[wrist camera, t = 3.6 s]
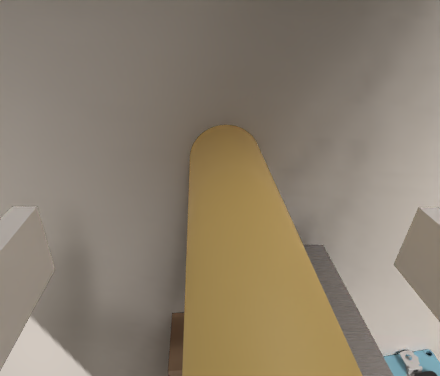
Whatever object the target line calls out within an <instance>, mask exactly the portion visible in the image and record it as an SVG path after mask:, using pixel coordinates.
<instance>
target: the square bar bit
mask: <svg viewBox="0 0 440 376" xmlns="http://www.w3.org/2000/svg"><path fill="white" fill-rule="evenodd" d="M303 246H304V248H305V250H306V252H307V255H308V257H309V259H310V261H311V263H312V266H313V268H314V270H315V272H316V274H317V277H318V279H319V281H320V283H321V285H322V288H323V290H324V292H325V294H326V296H327V299H328V301H329V303H330V305H331V307H332V310H333V312H334V314H335V316H336V318H337V321H338V323H339V325H340V327H341V329H342V332H343V334H344V336H345V338H346V340H347V343H348V345H349V347H350V349H351V351H352V354H353V356H354V358H355V360H356V362H357V364H358V367H359V369H360V371H361V373H362V375H363V376H393V374H392V372H391V370H390V368H389V366H388V364H387V363H386V361H385V359H384V357H383V355H382V353H381V352H380V350H379V348H378V346H377V344H376V342H375V340H374V339H373V337H372V335H371V333H370V331H369V329H368V327H367V326H366V324H365V322H364V320H363V318H362V316H361V315H360V313H359V311H358V309H357V307H356V305H355V303H354V302H353V300H352V298H351V296H350V294H349V292H348V290H347V289H346V287H345V285H344V283H343V281H342V279H341V278H340V276H339V274H338V272H337V270H336V268H335V266H334V265H333V263H332V261H331V259H330V257H329V255H328V253H327V252H326V250H325V248H324V246H323V245H303Z"/></svg>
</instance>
